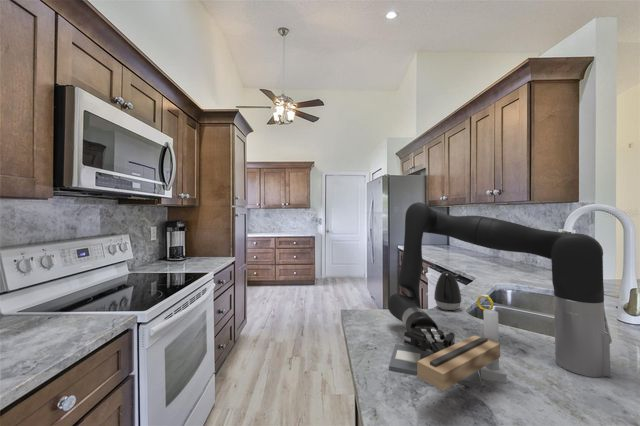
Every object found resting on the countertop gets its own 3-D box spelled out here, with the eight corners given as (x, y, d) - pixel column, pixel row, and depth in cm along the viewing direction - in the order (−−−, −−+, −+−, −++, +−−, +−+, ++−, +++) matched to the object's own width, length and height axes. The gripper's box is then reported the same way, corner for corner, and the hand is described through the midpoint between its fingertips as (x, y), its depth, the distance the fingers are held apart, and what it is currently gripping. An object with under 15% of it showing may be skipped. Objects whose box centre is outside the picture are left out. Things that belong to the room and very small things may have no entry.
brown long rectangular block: (474, 347, 68) (474, 332, 68) (500, 357, 63) (499, 340, 63) (417, 376, 55) (417, 358, 56) (443, 390, 51) (443, 370, 51)
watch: (494, 311, 112) (495, 297, 112) (490, 313, 111) (491, 298, 111) (479, 306, 117) (480, 292, 117) (475, 307, 116) (476, 293, 116)
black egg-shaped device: (465, 313, 110) (465, 274, 110) (437, 312, 111) (437, 273, 112) (457, 305, 120) (456, 269, 120) (431, 304, 121) (431, 269, 122)
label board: (497, 364, 72) (496, 305, 72) (511, 393, 59) (510, 322, 60) (395, 347, 81) (394, 295, 81) (389, 370, 69) (388, 308, 69)
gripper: (394, 310, 79) (412, 337, 61) (442, 311, 78) (473, 338, 61) (394, 337, 79) (412, 371, 61) (443, 338, 78) (474, 373, 61)
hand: (442, 355), depth 61 cm, fingers closed
